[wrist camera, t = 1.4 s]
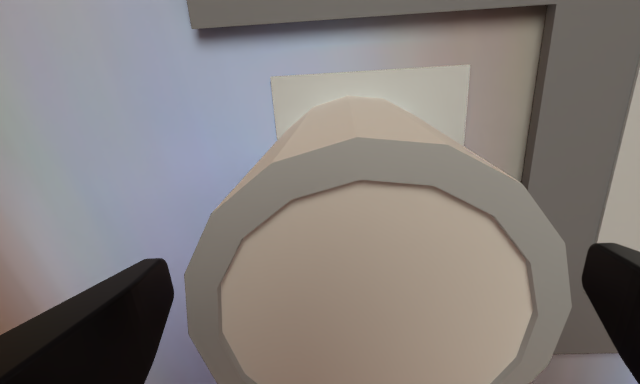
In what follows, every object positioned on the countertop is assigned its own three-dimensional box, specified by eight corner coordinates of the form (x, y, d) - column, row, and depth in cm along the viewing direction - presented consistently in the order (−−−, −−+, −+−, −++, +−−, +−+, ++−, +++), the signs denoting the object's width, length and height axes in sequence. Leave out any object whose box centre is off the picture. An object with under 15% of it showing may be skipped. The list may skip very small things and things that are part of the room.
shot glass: (495, 109, 12) (666, 209, 6) (415, 284, 15) (473, 481, 9) (280, 45, 12) (214, 80, 5) (236, 238, 15) (159, 412, 8)
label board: (1072, -145, 10) (1131, -158, 9) (810, 335, 16) (833, 350, 15) (182, -71, 11) (171, -77, 10) (253, 347, 17) (249, 362, 16)
